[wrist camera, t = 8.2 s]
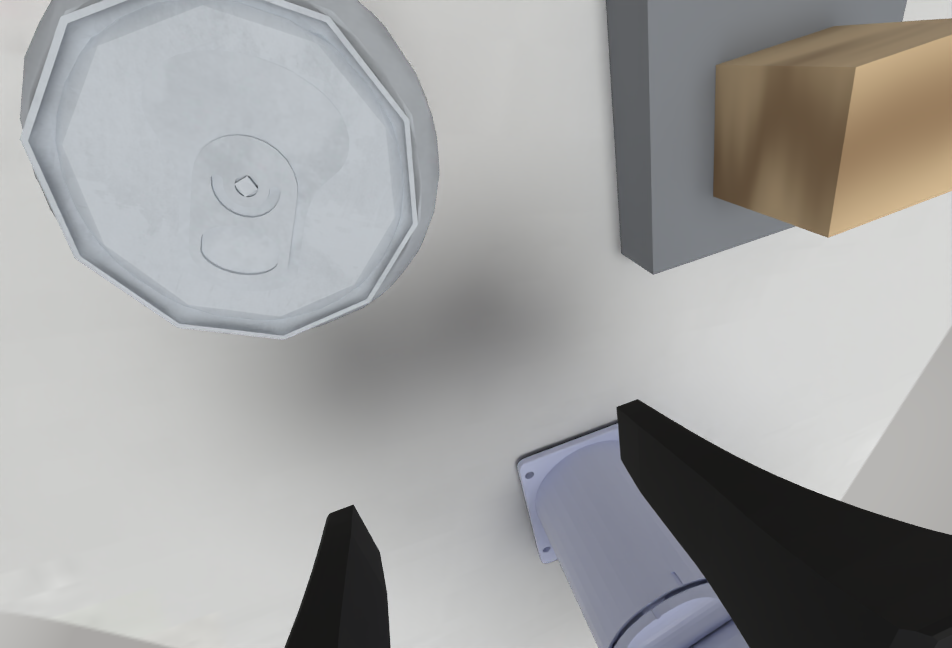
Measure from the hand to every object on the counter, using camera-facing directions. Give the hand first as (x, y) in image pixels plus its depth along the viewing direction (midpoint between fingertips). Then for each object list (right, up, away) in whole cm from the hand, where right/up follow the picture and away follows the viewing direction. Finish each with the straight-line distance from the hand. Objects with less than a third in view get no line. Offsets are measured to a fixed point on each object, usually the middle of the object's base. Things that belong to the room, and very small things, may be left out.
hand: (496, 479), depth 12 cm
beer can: (-6, +11, +3) cm, 13 cm away
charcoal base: (+10, +13, +7) cm, 18 cm away
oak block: (+10, +12, +5) cm, 16 cm away
